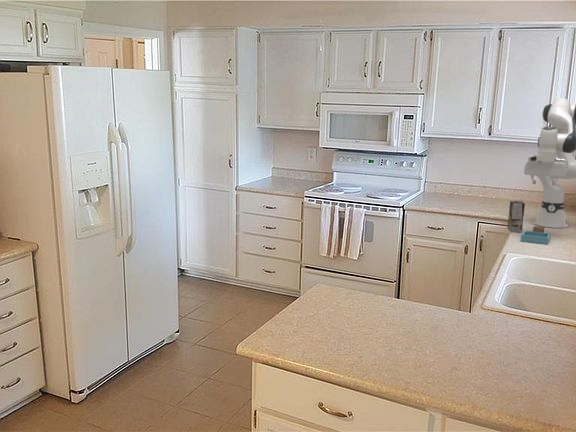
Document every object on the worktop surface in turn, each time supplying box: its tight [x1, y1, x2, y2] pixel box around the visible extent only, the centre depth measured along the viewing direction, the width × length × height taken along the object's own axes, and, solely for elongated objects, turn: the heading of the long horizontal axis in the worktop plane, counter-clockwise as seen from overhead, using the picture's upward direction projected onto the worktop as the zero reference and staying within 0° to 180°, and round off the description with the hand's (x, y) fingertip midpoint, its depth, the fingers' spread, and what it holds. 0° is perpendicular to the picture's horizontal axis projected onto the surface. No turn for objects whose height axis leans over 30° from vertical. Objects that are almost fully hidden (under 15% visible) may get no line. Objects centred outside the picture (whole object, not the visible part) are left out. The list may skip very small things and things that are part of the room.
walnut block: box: [532, 225, 546, 233], centre depth 302 cm, size 5×5×5 cm
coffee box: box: [507, 200, 526, 233], centre depth 315 cm, size 9×6×16 cm
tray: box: [520, 230, 551, 245], centre depth 291 cm, size 13×13×4 cm
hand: (543, 184), depth 298 cm, fingers open, 8 cm apart
